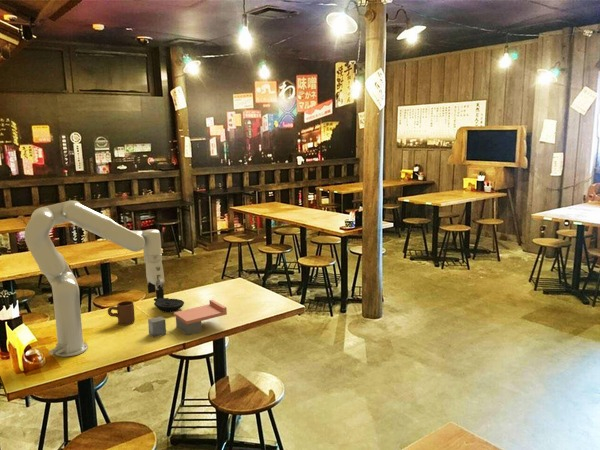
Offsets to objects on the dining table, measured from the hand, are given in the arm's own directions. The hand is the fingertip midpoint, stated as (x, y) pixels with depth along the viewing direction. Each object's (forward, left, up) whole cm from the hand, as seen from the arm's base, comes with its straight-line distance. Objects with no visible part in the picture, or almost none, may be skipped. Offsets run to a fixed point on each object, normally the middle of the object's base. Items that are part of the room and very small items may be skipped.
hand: (156, 295), depth 220 cm
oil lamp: (+29, +14, -19) cm, 37 cm away
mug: (+6, +24, -18) cm, 31 cm away
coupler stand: (+14, -14, -18) cm, 27 cm away
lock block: (0, 0, -18) cm, 18 cm away
